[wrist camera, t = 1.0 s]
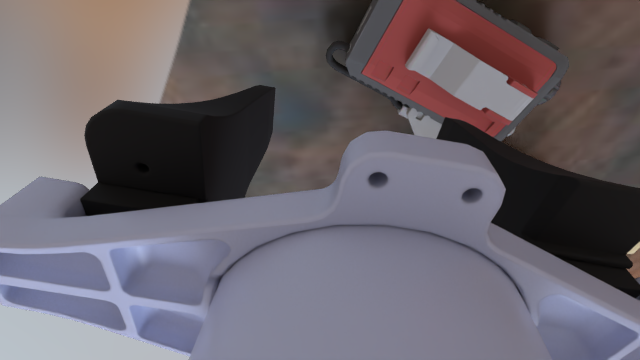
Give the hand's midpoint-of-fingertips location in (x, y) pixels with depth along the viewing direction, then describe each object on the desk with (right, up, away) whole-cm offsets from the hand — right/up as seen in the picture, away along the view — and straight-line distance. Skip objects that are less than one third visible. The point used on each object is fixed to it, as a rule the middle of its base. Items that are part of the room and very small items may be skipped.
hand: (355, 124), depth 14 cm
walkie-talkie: (+9, +4, +8) cm, 13 cm away
